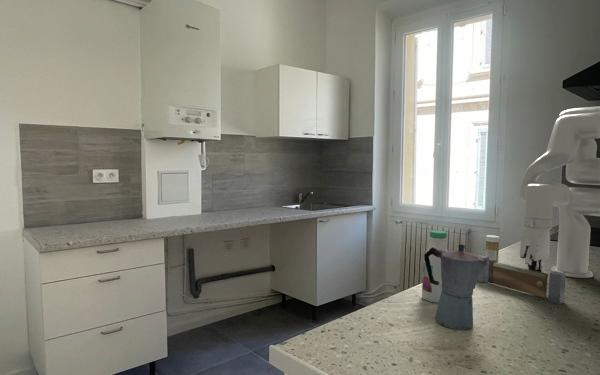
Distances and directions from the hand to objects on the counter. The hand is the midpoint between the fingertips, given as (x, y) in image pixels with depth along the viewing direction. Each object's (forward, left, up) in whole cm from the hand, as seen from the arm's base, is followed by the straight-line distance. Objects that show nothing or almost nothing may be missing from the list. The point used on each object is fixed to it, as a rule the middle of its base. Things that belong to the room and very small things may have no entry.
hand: (534, 280), depth 124 cm
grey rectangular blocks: (+5, -3, -3) cm, 7 cm away
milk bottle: (+33, -12, -3) cm, 35 cm away
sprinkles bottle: (-9, -19, -3) cm, 21 cm away
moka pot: (+44, +1, -3) cm, 44 cm away
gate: (+5, -3, -3) cm, 7 cm away
